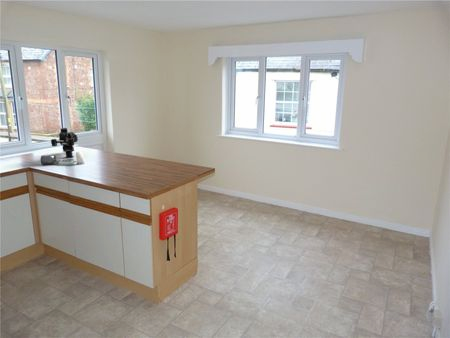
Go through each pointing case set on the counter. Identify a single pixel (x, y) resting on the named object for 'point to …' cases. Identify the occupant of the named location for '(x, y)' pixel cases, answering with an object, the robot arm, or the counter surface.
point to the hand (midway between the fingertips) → (60, 145)
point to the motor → (52, 160)
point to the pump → (79, 158)
